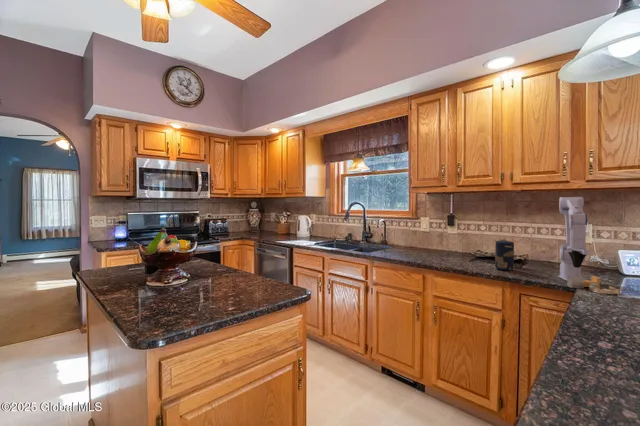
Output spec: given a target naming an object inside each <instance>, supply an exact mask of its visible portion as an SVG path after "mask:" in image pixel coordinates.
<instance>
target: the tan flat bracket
mask: <svg viewBox="0 0 640 426" xmlns="http://www.w3.org/2000/svg"><path fill="white" fill-rule="evenodd" d="M589 289H590V290H592V291H594V292H597V293H610V294H620V295H621V289H618V288H616V287H613V286H609V285H608V289H606V288H600V289H598V288H596V287H594V286H591V285H589V288H588V290H589ZM590 290H589V291H590ZM592 291H591V292H592ZM594 292H593V293H594Z"/></svg>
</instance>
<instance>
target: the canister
mask: <svg viewBox="0 0 640 426" xmlns="http://www.w3.org/2000/svg"><path fill="white" fill-rule="evenodd" d="M494 255H495V256H494V260H495V263H494V267H495V269H496V270H499V271H500V270H501V271H513V270H514V265H515V264H514V263H515V243H514V242H513V241H512V240H506V239H501V240H496V241H495V253H494Z"/></svg>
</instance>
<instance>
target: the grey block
mask: <svg viewBox="0 0 640 426" xmlns="http://www.w3.org/2000/svg"><path fill="white" fill-rule="evenodd" d="M584 280H585V277H583V276H582V275H581V276H569V275H567V281H566V285H567V287H569V288H571V289H572V288H573V289H585V288H584Z"/></svg>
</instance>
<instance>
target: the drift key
mask: <svg viewBox="0 0 640 426" xmlns="http://www.w3.org/2000/svg"><path fill="white" fill-rule="evenodd" d="M589 283H594V284H598V289H601V287H600V284H601V278H600V277H598V276H596V275H591V280H588V279H584V287H589Z"/></svg>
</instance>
